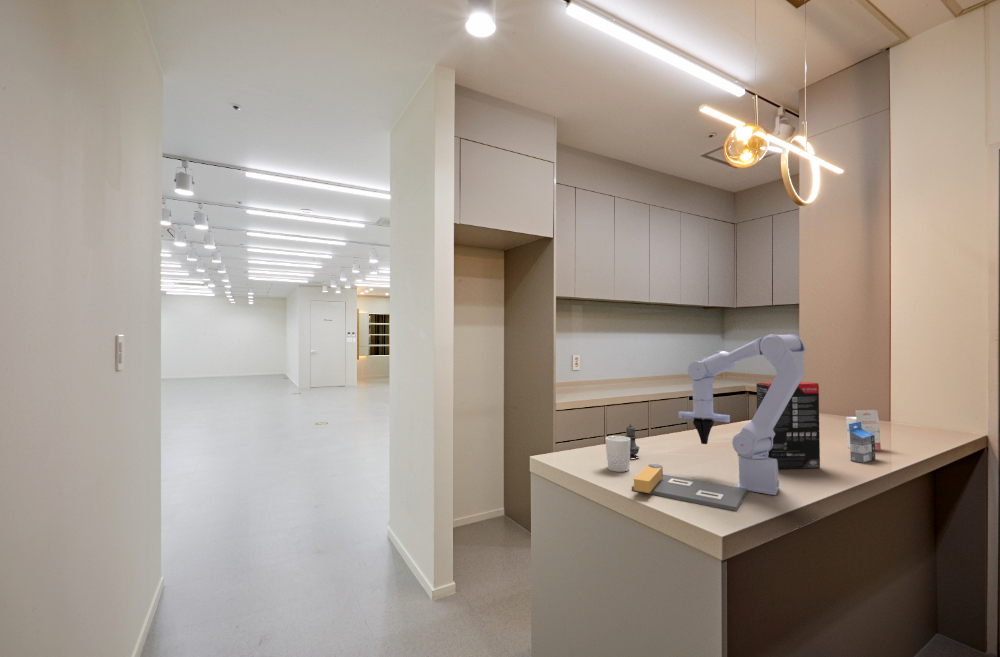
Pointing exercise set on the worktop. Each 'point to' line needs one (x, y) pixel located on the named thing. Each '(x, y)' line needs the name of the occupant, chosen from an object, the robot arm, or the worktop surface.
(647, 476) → the swing bar
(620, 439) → the white cup
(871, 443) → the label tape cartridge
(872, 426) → the ink cartridge box
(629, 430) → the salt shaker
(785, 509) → the worktop surface
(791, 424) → the graphics card box
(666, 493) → the label board
